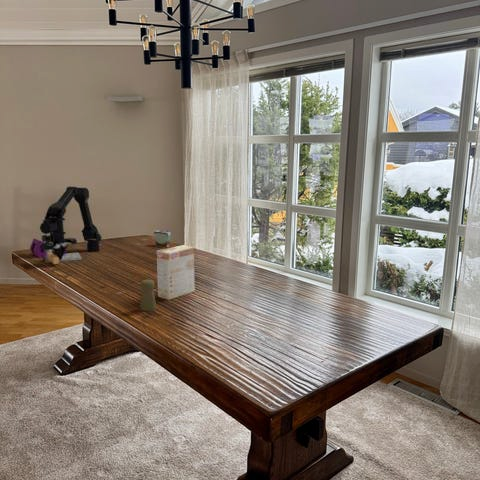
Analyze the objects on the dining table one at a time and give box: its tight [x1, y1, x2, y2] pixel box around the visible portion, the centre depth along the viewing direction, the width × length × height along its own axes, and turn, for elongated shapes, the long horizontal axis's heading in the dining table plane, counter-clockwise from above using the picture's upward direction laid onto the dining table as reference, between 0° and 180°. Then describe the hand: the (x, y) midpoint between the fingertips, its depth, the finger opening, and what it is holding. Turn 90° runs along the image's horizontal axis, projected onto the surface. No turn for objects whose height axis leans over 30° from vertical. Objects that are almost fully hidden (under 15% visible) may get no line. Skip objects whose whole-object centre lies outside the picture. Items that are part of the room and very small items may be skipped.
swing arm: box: [46, 249, 60, 265], centre depth 231 cm, size 17×3×5 cm, turn 36°
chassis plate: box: [44, 252, 82, 263], centre depth 243 cm, size 18×14×1 cm
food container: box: [153, 229, 172, 249], centre depth 275 cm, size 12×6×10 cm, turn 58°
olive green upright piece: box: [139, 279, 157, 312], centre depth 165 cm, size 6×6×11 cm
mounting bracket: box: [29, 238, 67, 258], centre depth 251 cm, size 9×8×18 cm
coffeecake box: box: [156, 244, 196, 301], centre depth 181 cm, size 15×7×20 cm, turn 141°
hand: (60, 259), depth 228 cm, fingers closed
